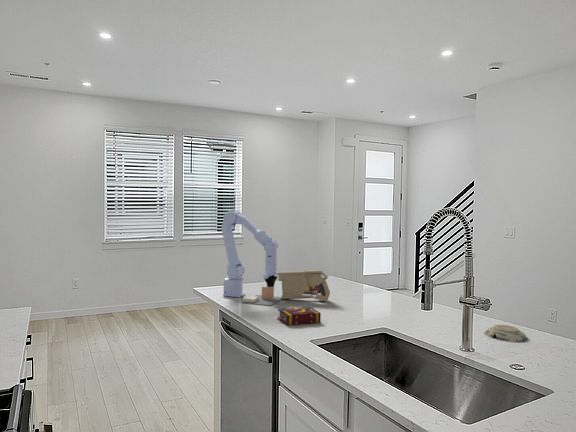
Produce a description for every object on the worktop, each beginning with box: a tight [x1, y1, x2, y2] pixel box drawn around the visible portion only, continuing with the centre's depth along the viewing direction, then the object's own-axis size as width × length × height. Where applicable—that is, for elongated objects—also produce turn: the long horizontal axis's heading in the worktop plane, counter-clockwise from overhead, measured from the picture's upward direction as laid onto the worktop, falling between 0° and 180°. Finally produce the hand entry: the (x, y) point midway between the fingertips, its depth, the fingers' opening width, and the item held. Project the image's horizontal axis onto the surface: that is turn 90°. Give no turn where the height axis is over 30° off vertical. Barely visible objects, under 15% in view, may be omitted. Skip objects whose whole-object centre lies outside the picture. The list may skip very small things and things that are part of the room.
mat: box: [242, 294, 283, 307], centre depth 221 cm, size 15×18×1 cm
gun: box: [278, 269, 331, 303], centre depth 223 cm, size 25×3×16 cm, turn 84°
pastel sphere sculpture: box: [303, 285, 321, 293], centre depth 252 cm, size 25×24×9 cm
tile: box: [261, 285, 275, 300], centre depth 223 cm, size 6×2×6 cm, turn 70°
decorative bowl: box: [483, 324, 529, 343], centre depth 169 cm, size 15×4×15 cm
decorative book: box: [276, 306, 322, 326], centre depth 185 cm, size 11×16×5 cm
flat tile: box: [242, 295, 259, 303], centre depth 218 cm, size 6×6×2 cm
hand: (270, 290), depth 227 cm, fingers closed
